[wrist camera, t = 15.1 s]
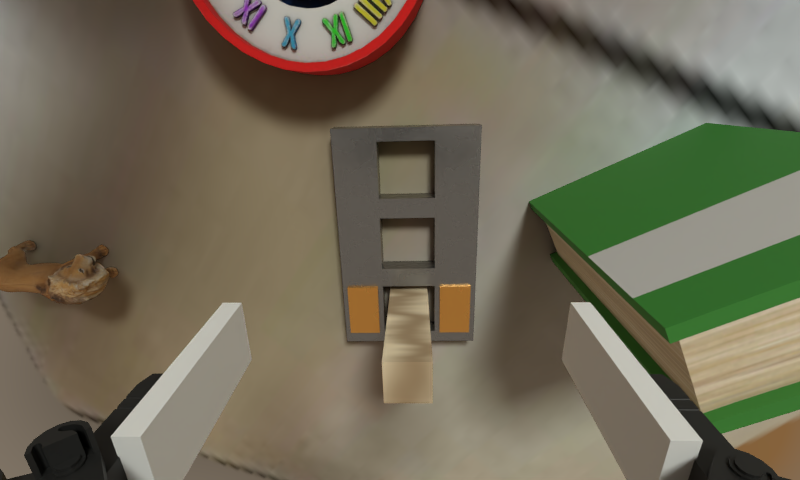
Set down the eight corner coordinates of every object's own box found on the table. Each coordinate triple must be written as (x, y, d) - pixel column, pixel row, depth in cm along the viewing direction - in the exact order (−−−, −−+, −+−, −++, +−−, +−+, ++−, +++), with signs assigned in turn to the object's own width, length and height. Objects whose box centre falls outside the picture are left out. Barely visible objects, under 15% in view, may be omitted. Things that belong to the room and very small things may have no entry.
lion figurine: (135, 231, 44) (69, 263, 36) (149, 275, 46) (90, 316, 38) (8, 240, 45) (-86, 274, 37) (27, 283, 47) (-59, 325, 38)
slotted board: (349, 331, 48) (346, 342, 45) (334, 127, 40) (329, 129, 38) (470, 330, 47) (473, 342, 45) (478, 123, 39) (482, 125, 37)
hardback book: (552, 261, 44) (700, 440, 21) (528, 201, 42) (665, 328, 19) (722, 192, 41) (1106, 314, 18) (706, 122, 39) (1118, 164, 16)
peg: (392, 315, 47) (383, 403, 33) (391, 284, 45) (381, 362, 32) (427, 315, 47) (432, 403, 33) (426, 284, 45) (432, 362, 32)
